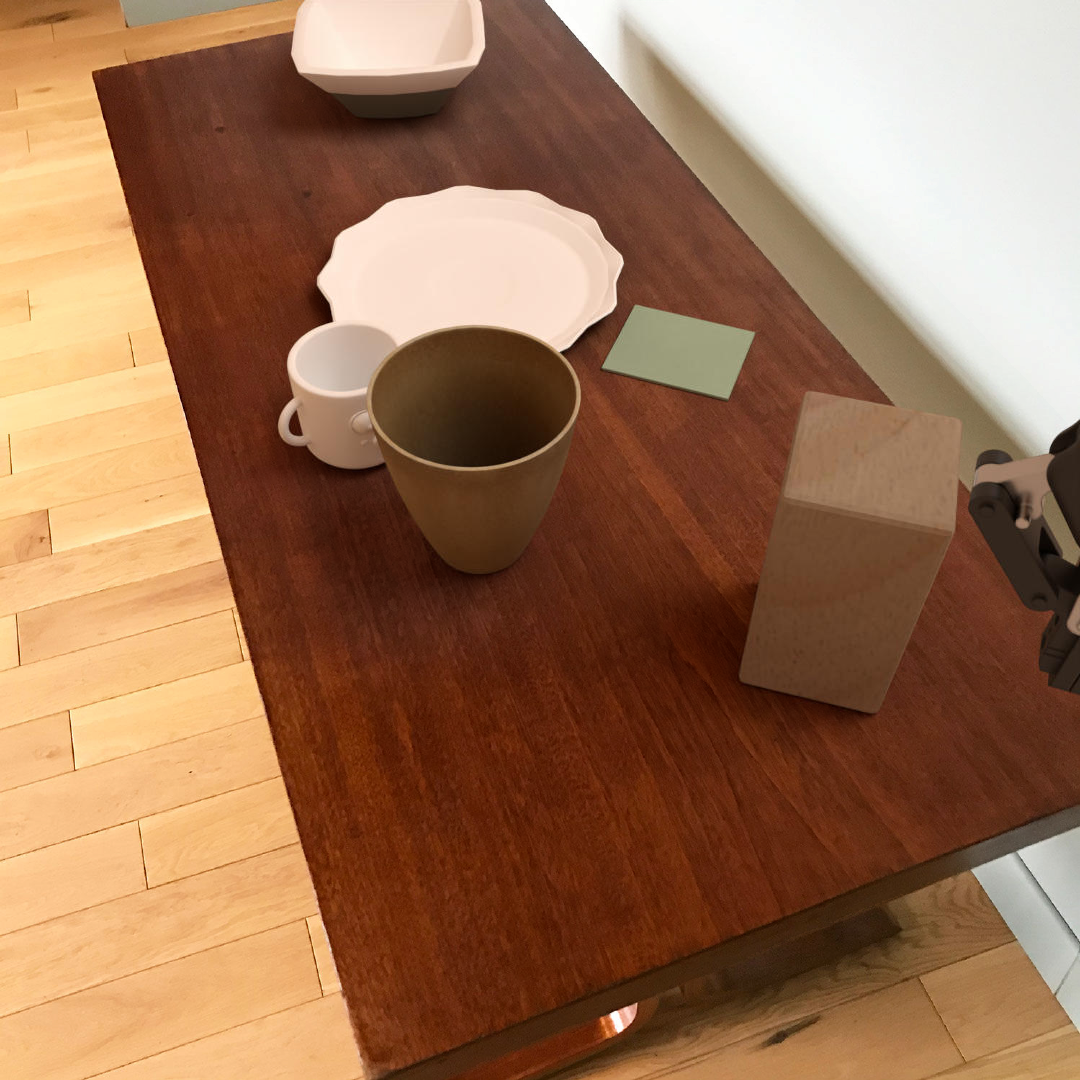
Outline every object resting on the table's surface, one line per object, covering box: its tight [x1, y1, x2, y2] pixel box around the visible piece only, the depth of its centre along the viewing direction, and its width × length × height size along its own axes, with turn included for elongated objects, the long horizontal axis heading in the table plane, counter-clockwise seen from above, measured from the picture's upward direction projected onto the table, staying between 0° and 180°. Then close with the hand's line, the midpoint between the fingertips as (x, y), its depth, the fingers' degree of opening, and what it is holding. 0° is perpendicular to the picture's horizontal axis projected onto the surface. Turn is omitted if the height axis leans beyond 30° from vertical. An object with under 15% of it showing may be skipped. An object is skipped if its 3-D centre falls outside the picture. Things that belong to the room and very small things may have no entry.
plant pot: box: [366, 325, 582, 575], centre depth 83 cm, size 15×15×16 cm
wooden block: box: [738, 390, 963, 715], centre depth 75 cm, size 10×10×20 cm
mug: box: [277, 320, 403, 470], centre depth 93 cm, size 12×10×9 cm
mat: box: [601, 304, 756, 402], centre depth 104 cm, size 12×10×1 cm
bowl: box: [290, 0, 486, 119], centre depth 133 cm, size 22×23×8 cm
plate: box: [316, 185, 625, 354], centre depth 110 cm, size 29×29×2 cm
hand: (1069, 674), depth 44 cm, fingers closed
